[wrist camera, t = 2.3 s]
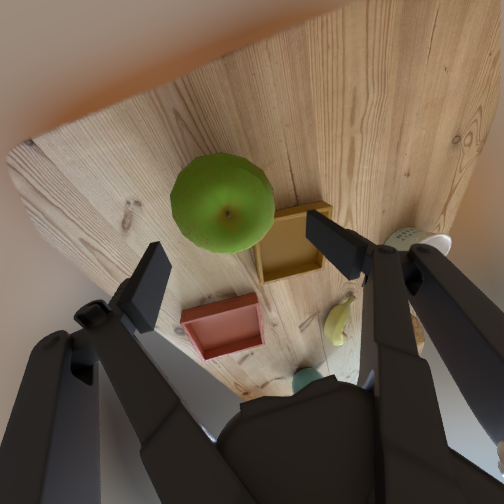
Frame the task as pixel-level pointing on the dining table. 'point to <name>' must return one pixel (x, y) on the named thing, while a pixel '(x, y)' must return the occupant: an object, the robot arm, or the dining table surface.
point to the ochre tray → (289, 245)
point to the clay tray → (224, 327)
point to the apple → (223, 203)
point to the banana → (338, 322)
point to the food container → (418, 239)
